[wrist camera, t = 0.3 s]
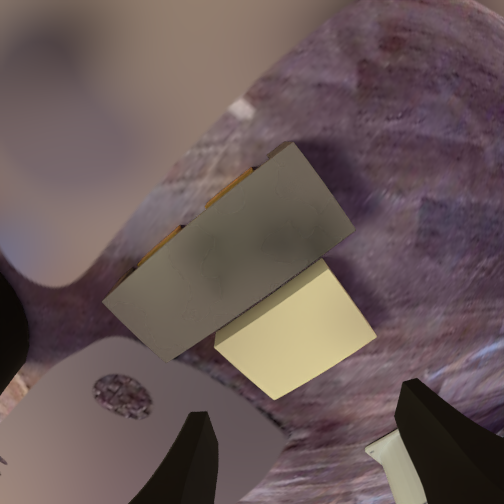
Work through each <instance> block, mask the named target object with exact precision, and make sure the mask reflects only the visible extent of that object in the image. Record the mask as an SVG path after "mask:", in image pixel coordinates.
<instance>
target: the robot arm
mask: <svg viewBox="0 0 504 504" xmlns="http://www.w3.org/2000/svg"><path fill="white" fill-rule="evenodd" d="M394 417H395V420H396V424H397V427H398V429H397V430H395V431H393V432H392V433H390V434H388V435H386V436H385V437H383V438H381V439H379V440H378V441H376V442H374V443H372V444H370V445H369V446H367V447H366V448H365V451H366V453H367V454H369V455H370V456H371V457H372V458H374V459H375V460H376V461H378V462H379V463H380V464H381V465H383V468H384V471H385V473H386V476H387V479H388V482H389V485H390V488H391V491H392V494H393V497H394V500H395V503H396V504H504V438H502V437H500V436H498V435H496V434H494V433H492V432H490V431H488V430H486V429H485V428H483V427H481V426H480V425H478V424H476V423H475V422H473V421H472V420H470V419H469V418H467V417H466V416H464V415H463V414H462V413H460V412H459V411H457V410H456V409H455V408H454V407H452V406H451V405H450V404H448V403H447V402H446V401H444V400H443V399H442V398H441V397H440V396H438V395H437V394H436V393H435V392H433V391H432V390H431V389H430V388H429V387H427V386H426V385H425V384H424V383H422V382H421V381H420V380H419V379H418V378H415V379H411V380H407V381H404V382H403V383H402V387H401V392H400V396H399V400H398V404H397V408H396V411H395V415H394ZM217 474H218V441H217V438H216V435H215V432H214V430H213V427H212V424H211V421H210V418H209V415H208V412H206V411H205V412H191V413H189V414H188V417H187V419H186V421H185V423H184V425H183V427H182V429H181V431H180V432H179V435H178V436H177V438H176V440H175V442H174V443H173V445H172V447H171V448H170V450H169V452H168V453H167V455H166V457H165V458H164V460H163V461H162V463H161V464H160V466H159V467H158V468H157V470H156V471H155V473H154V474H153V475H152V477H151V478H150V479H149V481H148V482H147V483H146V485H145V486H144V487H143V488H142V489H141V490H140V491H139V493H138V494H137V495H136V496H135V497H134V498H133V499H132V500H131V501H130V502H129V503H128V504H214V498H215V490H216V482H217Z"/></svg>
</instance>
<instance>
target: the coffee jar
mask: <svg viewBox="0 0 504 504" xmlns="http://www.w3.org/2000/svg"><path fill="white" fill-rule="evenodd" d="M28 340H29V332H28V322H27V319H26V316H25V313H24V310H23V307H22V305H21V303H20V301H19V299H18V297H17V296H16V294H15V292H14V290H13V288H12V287H11V286H10V284H9V283H8V282H7V280H6V279H5V278H4V276H3V275H2V274H1V273H0V395H1V394H2V392H3V391H4V390H5V388H6V387H7V386H8V384H9V383H10V381H11V380H12V379H13V377H14V376H15V375H16V373H17V372H18V371H19V369H20V368H21V367H22V366H23V364H24V363H25V361H26V357H27V353H28V348H29V341H28Z"/></svg>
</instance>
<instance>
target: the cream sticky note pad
mask: <svg viewBox="0 0 504 504" xmlns="http://www.w3.org/2000/svg"><path fill="white" fill-rule="evenodd" d="M376 337H377V336H376V334H375V333H374V331H373V329H372V328H371V326H370V324H369V323H368V321H367V320H366V318H365V317H364V316H363V314H362V313H361V311H360V310H359V308H358V307H357V306H356V304H355V303H354V301H353V300H352V299H351V297H350V296H349V294H348V293H347V292H346V290H345V289H344V287H343V286H342V285H341V283H340V282H339V280H338V279H337V278H336V276H335V275H334V274H333V272H332V271H331V269H330V268H329V267H328V265H327V264H326V263H325V261H324V260H323V259H322V258H321V259H320V260H318V261H317V262H315V263H314V264H313V265H311V266H310V267H309V268H307V269H306V270H304V271H303V272H302V273H300V274H299V275H298V276H296V277H295V278H293V279H292V280H291V281H289V282H288V283H286V284H285V285H284V286H282V287H281V288H279V289H278V290H277V291H275V292H274V293H272V294H271V295H269V296H268V297H267V298H265V299H264V300H262V301H261V302H260V303H258V304H257V305H255V306H254V307H252V308H251V309H249V310H248V311H247V312H245V313H244V314H242V315H241V316H239V317H238V318H236V319H235V320H233V321H232V322H231V323H229V324H228V325H226V326H225V327H223V328H222V329H220V330H219V331H217V332H216V336H215V344H214V348H215V349H216V350H217V351H219V352H220V353H221V354H222V355H223V356H224V357H225V358H226V359H227V360H228V361H229V362H231V363H232V364H233V365H234V366H235V367H236V368H237V369H238V370H240V371H241V372H242V373H243V374H244V375H245V376H246V377H248V378H249V379H250V380H251V381H252V382H253V383H254V384H256V385H257V386H258V387H259V388H260V389H261V390H263V391H264V392H265V393H266V394H267V395H269V396H270V397H271V398H272V399H273V400H276V399H278V398H279V397H281V396H283V395H285V394H287V393H288V392H290V391H292V390H294V389H295V388H297V387H299V386H301V385H302V384H304V383H306V382H308V381H309V380H311V379H313V378H314V377H316V376H318V375H319V374H321V373H323V372H324V371H326V370H327V369H329V368H331V367H332V366H334V365H335V364H337V363H339V362H340V361H342V360H343V359H345V358H346V357H348V356H349V355H351V354H352V353H354V352H355V351H357V350H358V349H360V348H361V347H363V346H364V345H366V344H367V343H369V342H370V341H372V340H373V339H374V338H376Z"/></svg>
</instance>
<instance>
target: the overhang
mask: <svg viewBox="0 0 504 504" xmlns="http://www.w3.org/2000/svg"><path fill="white" fill-rule="evenodd" d="M267 156H268V158H269V160H267V161H266V162H265V163H264V164H262V165H261V166H260V167H258V168H257V169H256V170H253V168H252V167H251V168H249V169H248V170H247V171H245V172H244V173H243V174H242V175H240V176H239V177H238V178H237V179H235V180H234V181H233V182H232V183H230V184H229V185H228V186H227V187H225V188H224V189H223V190H222V191H220V192H219V193H218V194H217V195H215V196H214V197H213V198H212V199H211V200H209V201H208V202H207V203H206V205H205V208H206V210H204V211H203V212H202V213H201V214H200V215H198V216H197V217H196V218H195V219H194V220H192V221H191V222H190V223H189V224H188V225H186V226H185V227H184V228H182V227H181V226H180V225H179V226H178V227H177V228H176V229H175V230H174V231H172V232H171V233H170V234H169V235H168V236H167V237H166V238H164V239H163V240H162V241H161V242H160V243H159V244H157V245H156V246H155V247H154V248H153V249H152V250H151V251H150V252H148V253H147V254H146V255H145V256H144V257H143V258H142V259H141V261H140V262H139V263H138V264H137V266H138V268H137V269H136V270H134V269H133V268H131V269H130V270H128V271H127V272H126V273H125V274H124V275H123V276H122V277H121V278H120V279H119V280H118V281H117V283H116V284H115V285H114V286H113V288H112V289H111V290H110V292H109V293H108V294H107V295H106V297H105V298H104V299H103V301H102V303H103V304H104V305H105V306H106V307H107V308H108V309H109V310H110V311H111V312H112V313H113V314H114V315H115V316H116V317H117V318H118V319H119V320H120V321H121V322H122V323H123V324H124V325H125V326H126V327H127V328H128V329H129V330H130V331H131V332H132V333H133V334H134V335H136V336H137V337H138V338H139V339H140V340H141V341H142V342H143V343H144V344H145V345H146V346H147V347H148V348H150V349H151V350H152V351H153V352H154V353H155V354H156V355H157V356H158V357H160V358H161V359H162V360H163V361H164V362H165V363H168V362H169V361H171V360H172V359H174V358H175V357H177V356H178V355H180V354H181V353H183V352H184V351H186V350H187V349H189V348H190V347H192V346H193V345H195V344H196V343H198V342H199V341H201V340H202V339H204V338H205V337H207V336H208V335H210V334H211V333H213V332H214V331H216V330H217V329H219V328H220V327H222V326H223V325H225V324H226V323H228V322H229V321H231V320H232V319H234V318H235V317H236V316H238V315H239V314H241V313H242V312H244V311H245V310H247V309H248V308H249V307H251V306H252V305H254V304H255V303H257V302H258V301H259V300H261V299H262V298H264V297H265V296H267V295H268V294H269V293H271V292H272V291H274V290H275V289H276V288H278V287H279V286H281V285H282V284H284V283H285V282H286V281H288V280H289V279H290V278H292V277H293V276H295V275H296V274H297V273H299V272H300V271H302V270H303V269H304V268H306V267H307V266H308V265H310V264H311V263H313V262H314V261H315V260H317V259H318V258H319V257H321V256H322V255H323V254H325V253H326V252H327V251H329V250H330V249H332V248H333V247H334V246H336V245H337V244H338V243H340V242H341V241H342V240H344V239H345V238H346V237H348V236H349V235H350V234H351V233H353V232H354V231H355V230H356V229H355V227H354V226H353V224H352V223H351V221H350V220H349V218H348V217H347V215H346V214H345V213H344V211H343V210H342V208H341V207H340V205H339V204H338V202H337V201H336V199H335V198H334V197H333V195H332V194H331V192H330V191H329V189H328V188H327V187H326V185H325V184H324V182H323V181H322V180H321V178H320V177H319V175H318V174H317V173H316V171H315V170H314V169H313V167H312V166H311V165H310V163H309V162H308V160H307V159H306V158H305V156H304V155H303V154H302V153H301V151H300V150H299V149H298V147H297V146H296V145H295V143H294V142H286V141H285V142H283V143H282V144H281V145H279V146H278V147H277V148H275V149H274V150H273V151H271V152H270V153H269V154H267Z"/></svg>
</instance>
